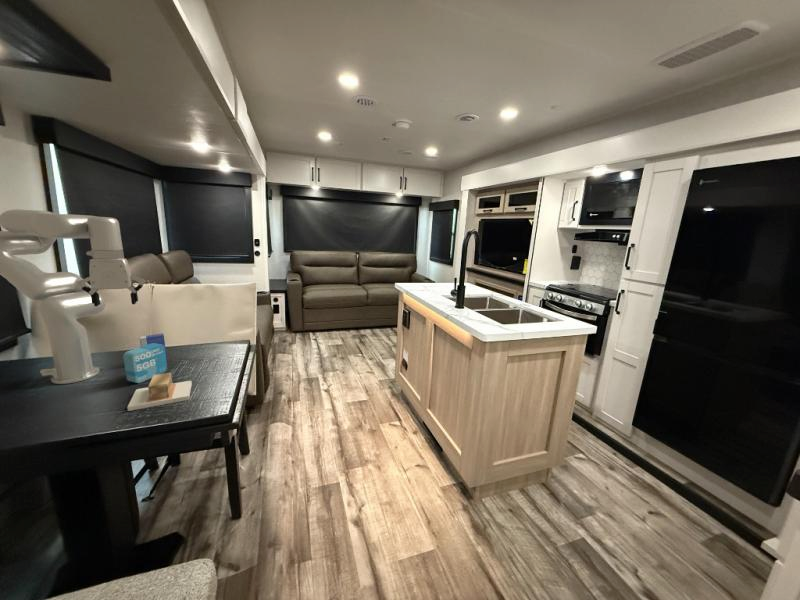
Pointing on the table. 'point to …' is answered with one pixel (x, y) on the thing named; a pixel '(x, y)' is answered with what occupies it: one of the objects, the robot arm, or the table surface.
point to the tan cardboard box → (160, 386)
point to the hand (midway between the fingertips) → (116, 304)
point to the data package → (145, 362)
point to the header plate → (176, 395)
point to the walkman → (153, 340)
